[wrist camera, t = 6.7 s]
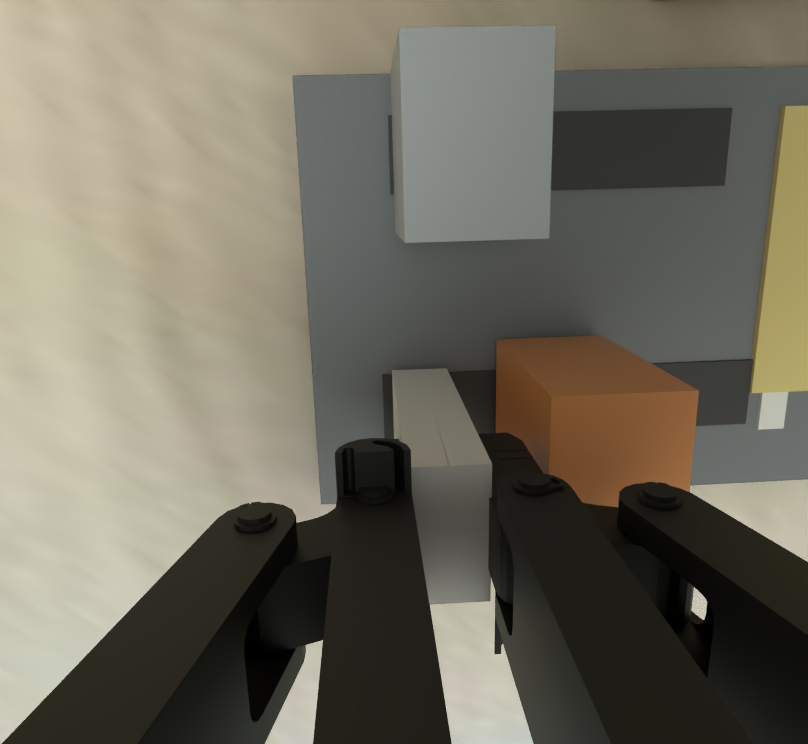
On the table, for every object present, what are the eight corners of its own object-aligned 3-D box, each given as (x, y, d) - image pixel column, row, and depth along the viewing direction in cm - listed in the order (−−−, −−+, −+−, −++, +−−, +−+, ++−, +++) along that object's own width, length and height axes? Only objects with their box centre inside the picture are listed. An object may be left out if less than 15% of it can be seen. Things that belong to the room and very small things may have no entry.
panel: (297, 84, 17) (265, 29, 12) (1059, 69, 18) (1353, 13, 13) (323, 487, 20) (308, 591, 15) (974, 454, 22) (1182, 540, 16)
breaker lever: (496, 339, 18) (551, 397, 13) (601, 335, 18) (699, 390, 13) (495, 470, 19) (545, 575, 14) (594, 465, 19) (681, 566, 14)
